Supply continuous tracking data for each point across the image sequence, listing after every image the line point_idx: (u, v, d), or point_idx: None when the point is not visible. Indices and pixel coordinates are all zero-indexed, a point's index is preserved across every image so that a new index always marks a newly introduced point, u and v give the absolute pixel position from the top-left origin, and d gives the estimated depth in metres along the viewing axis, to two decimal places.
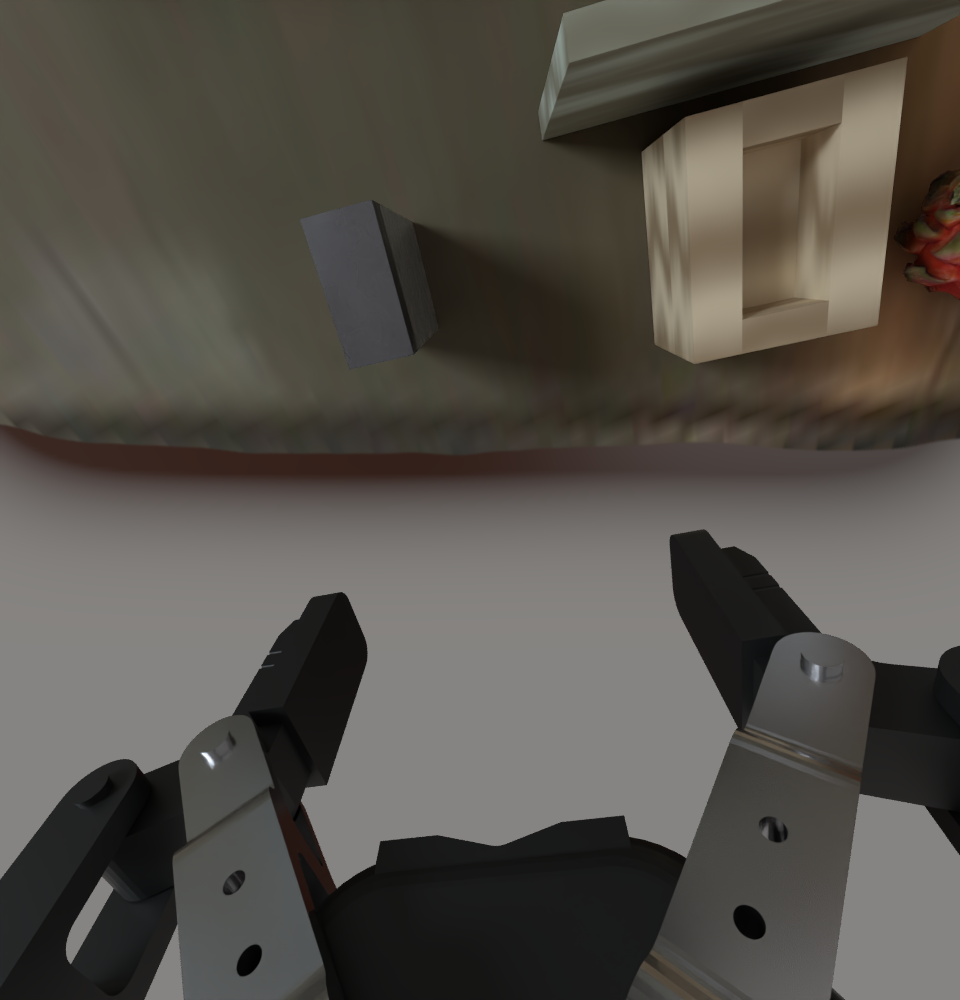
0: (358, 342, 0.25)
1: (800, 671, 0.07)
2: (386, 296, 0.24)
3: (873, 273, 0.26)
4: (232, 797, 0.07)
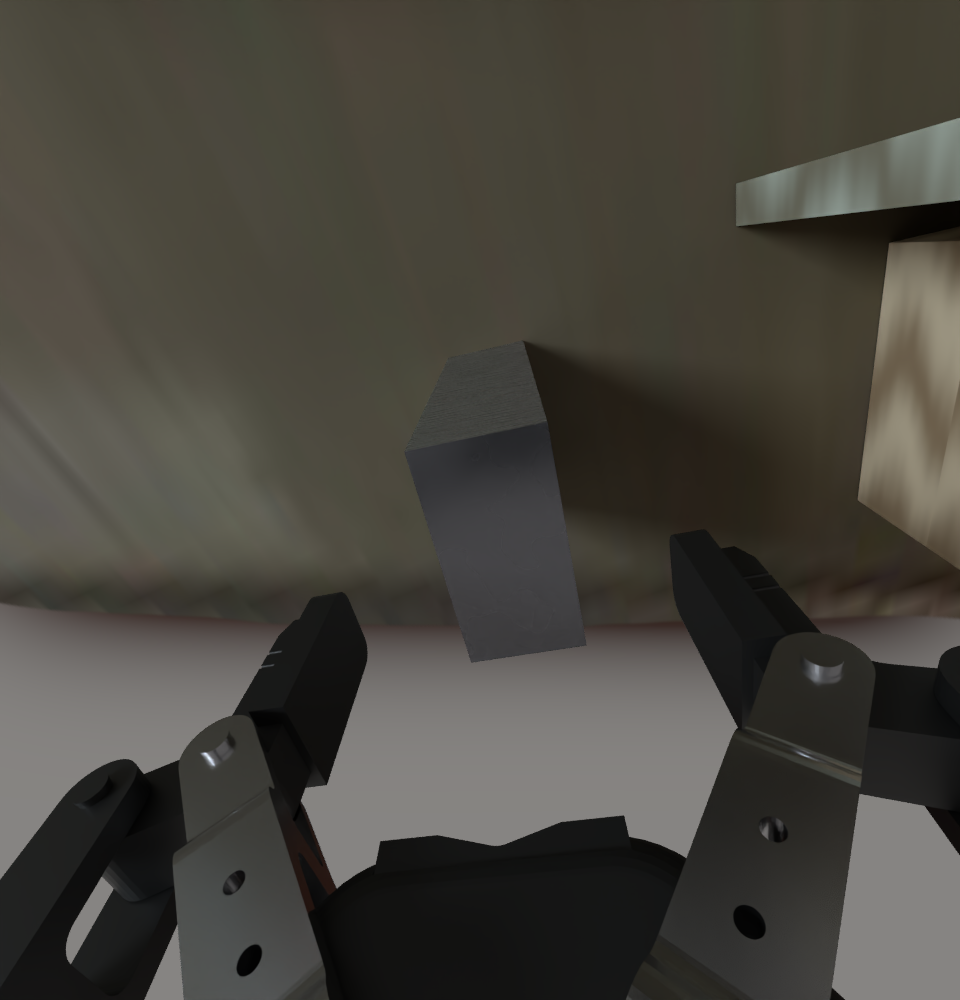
0: (491, 628, 0.14)
1: (800, 671, 0.07)
2: (551, 566, 0.13)
3: None
4: (232, 797, 0.07)
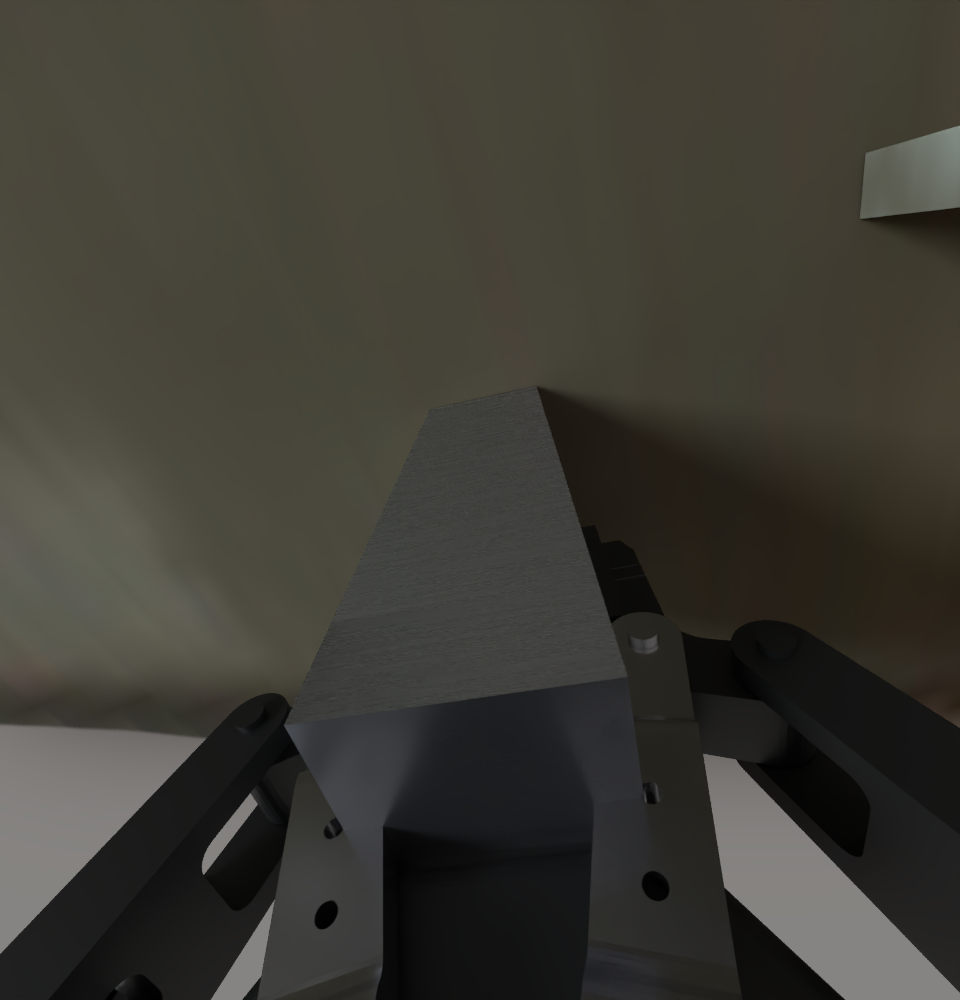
0: None
1: (623, 643, 0.08)
2: None
3: None
4: None
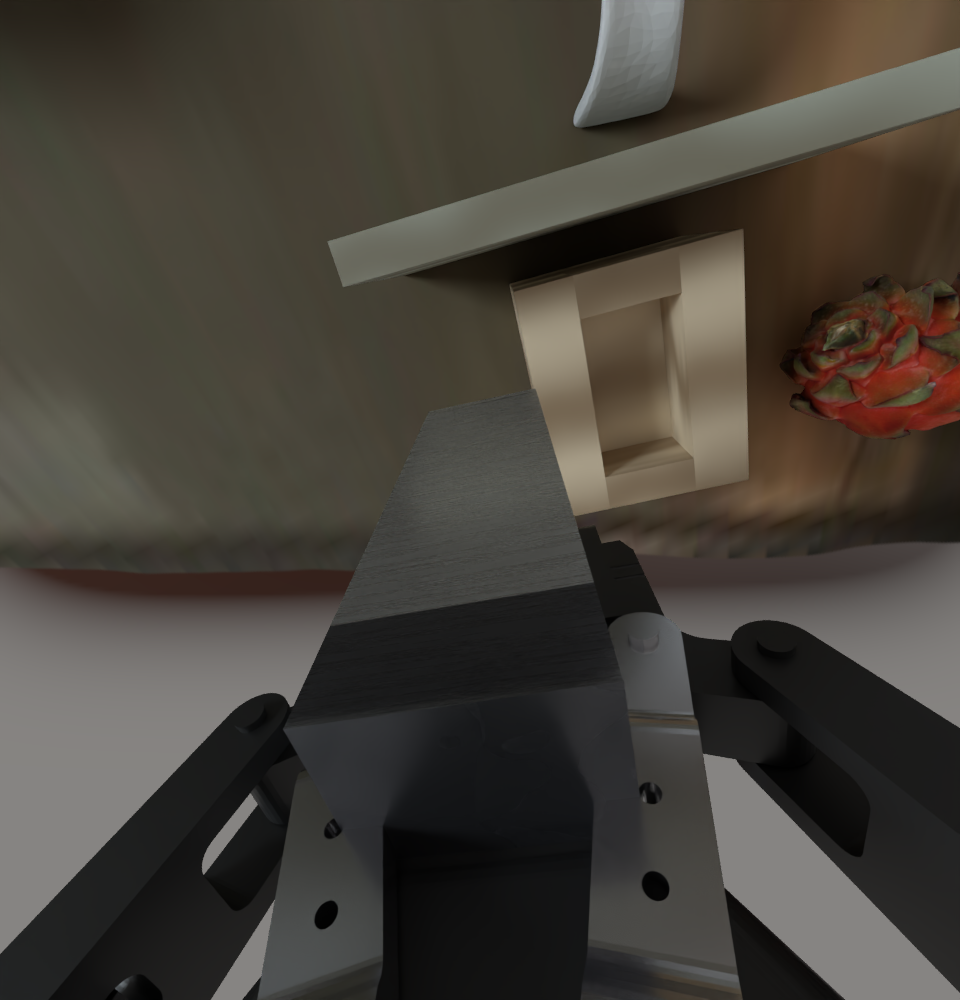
0: None
1: (623, 643, 0.08)
2: None
3: (737, 432, 0.25)
4: None
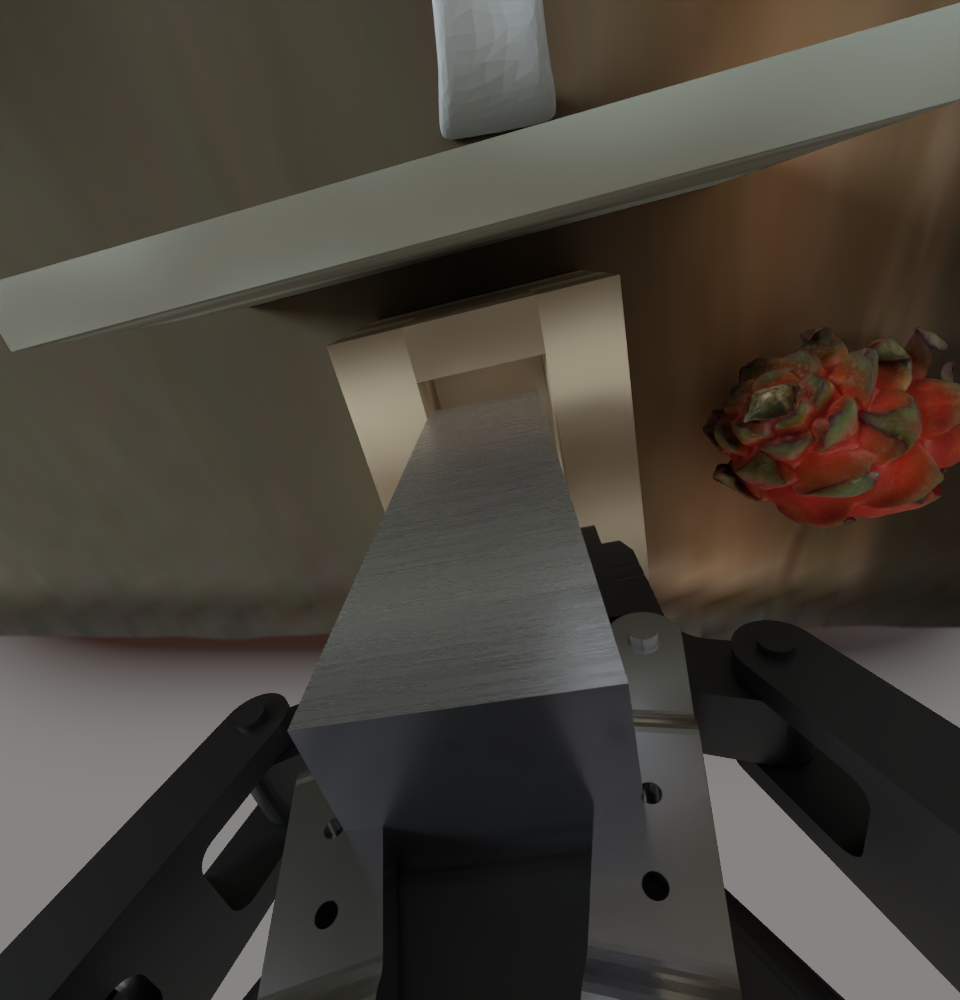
0: None
1: (623, 643, 0.08)
2: None
3: (630, 524, 0.20)
4: None
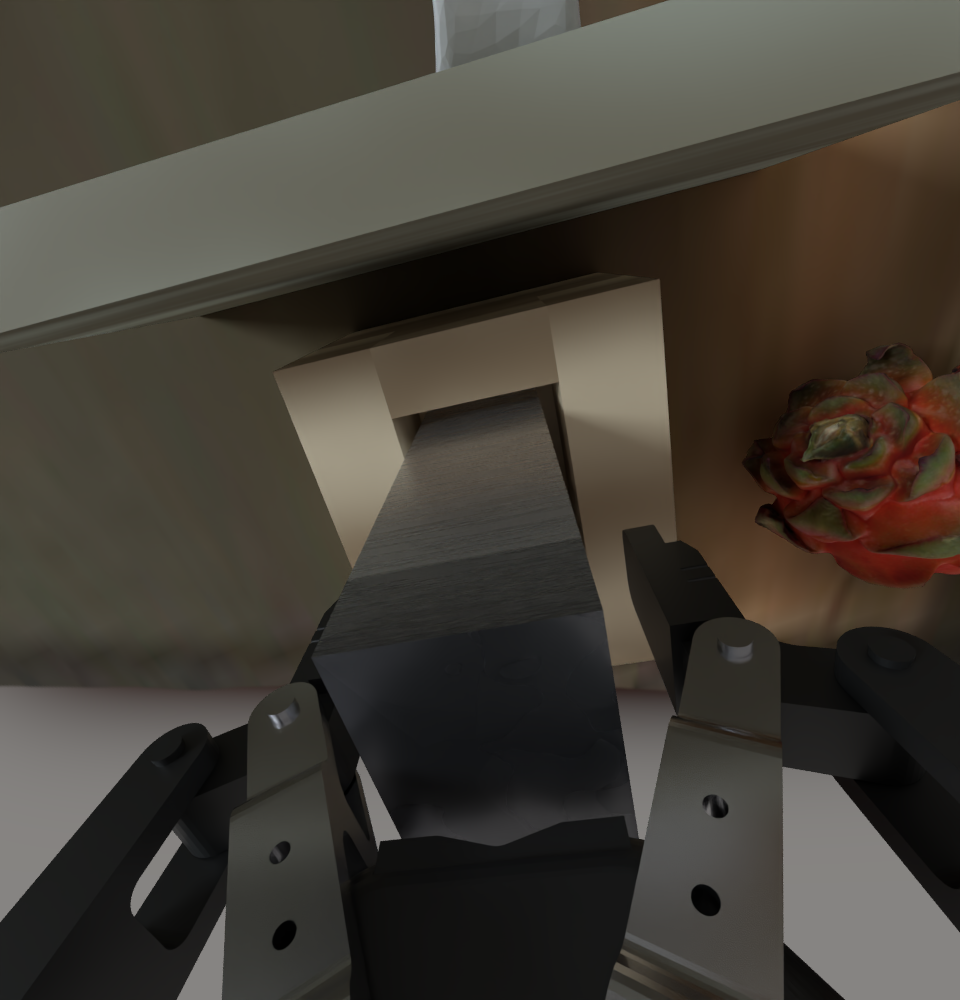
0: None
1: (715, 652, 0.07)
2: None
3: None
4: (306, 754, 0.08)
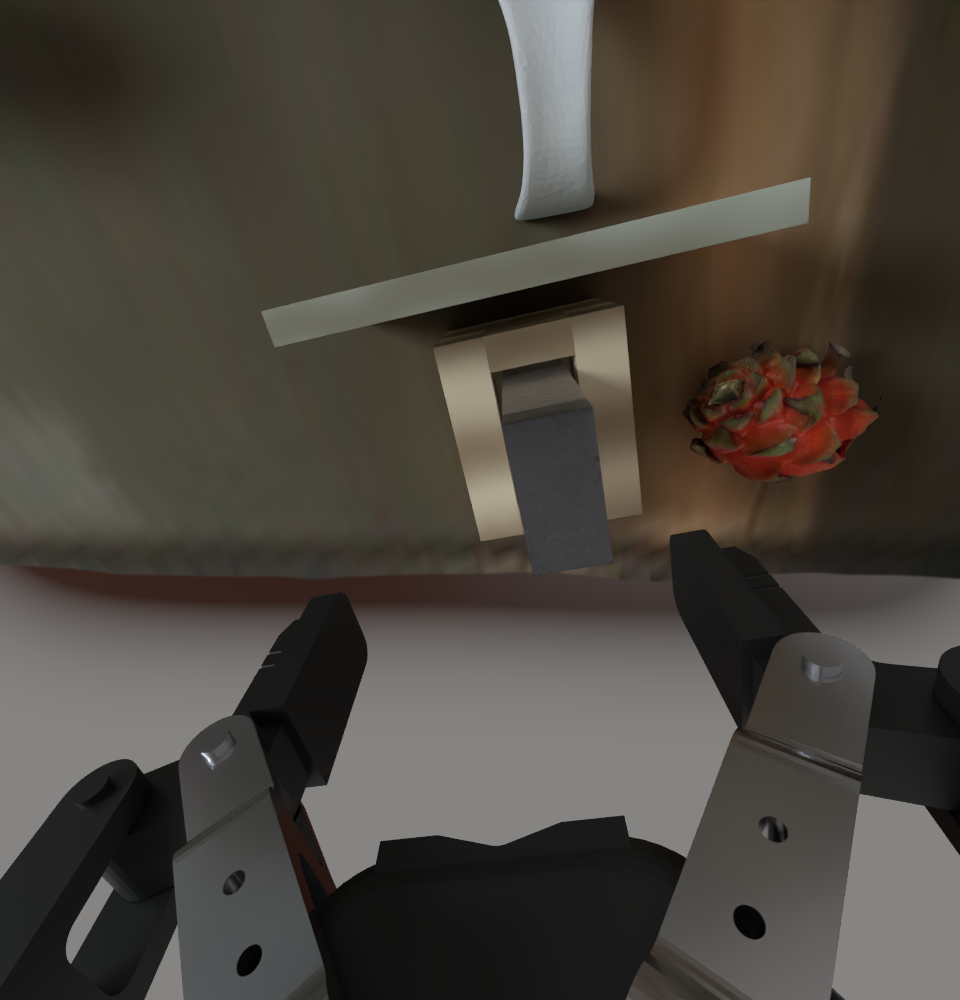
0: (549, 549, 0.21)
1: (800, 671, 0.07)
2: (591, 504, 0.20)
3: (629, 472, 0.29)
4: (232, 797, 0.07)
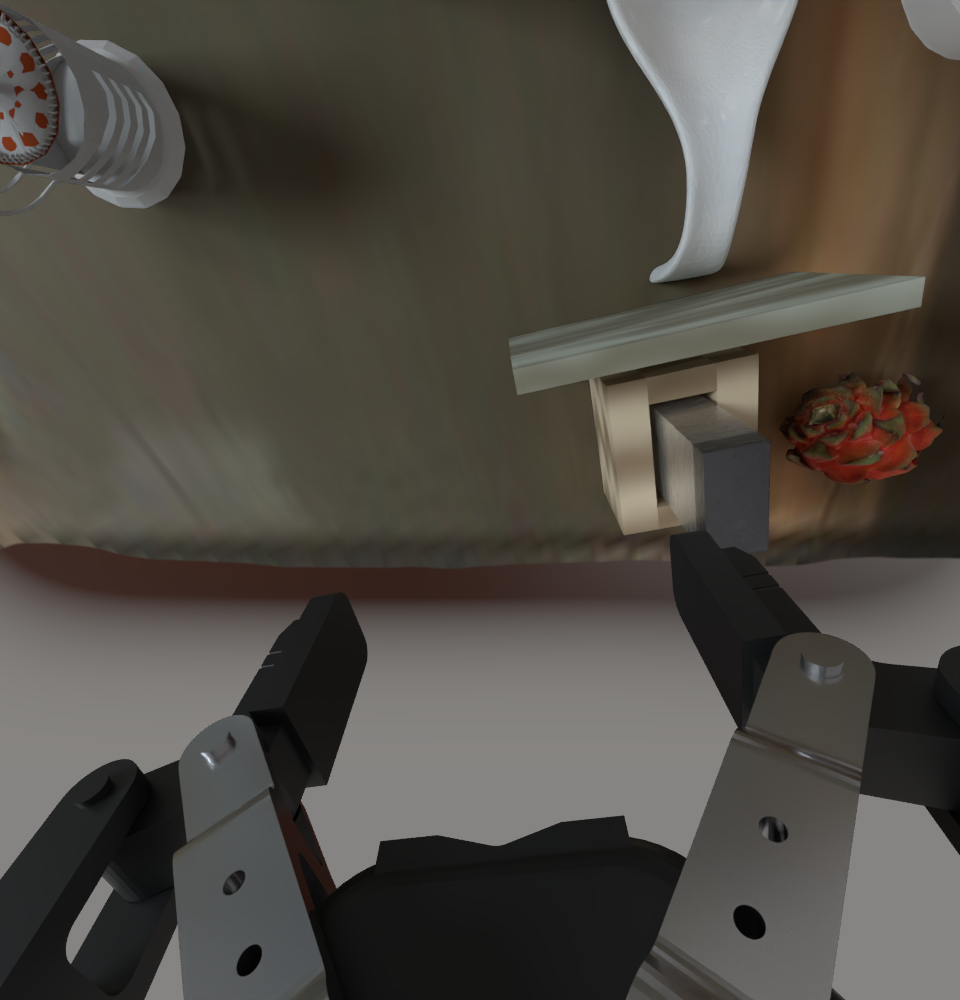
0: (722, 541, 0.29)
1: (800, 671, 0.07)
2: (758, 508, 0.28)
3: None
4: (232, 797, 0.07)
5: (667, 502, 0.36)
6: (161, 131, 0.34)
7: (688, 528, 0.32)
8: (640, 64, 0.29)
